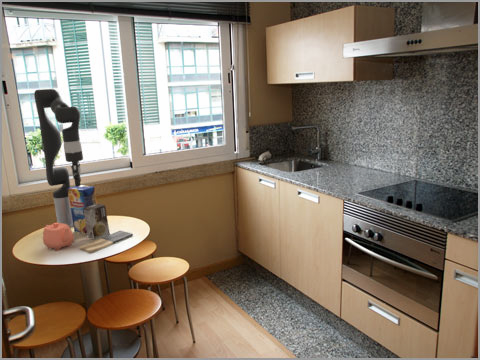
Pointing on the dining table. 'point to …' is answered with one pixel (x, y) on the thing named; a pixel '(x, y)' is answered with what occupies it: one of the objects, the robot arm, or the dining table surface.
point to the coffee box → (96, 221)
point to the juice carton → (80, 205)
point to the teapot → (57, 236)
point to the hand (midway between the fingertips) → (78, 184)
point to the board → (105, 241)
